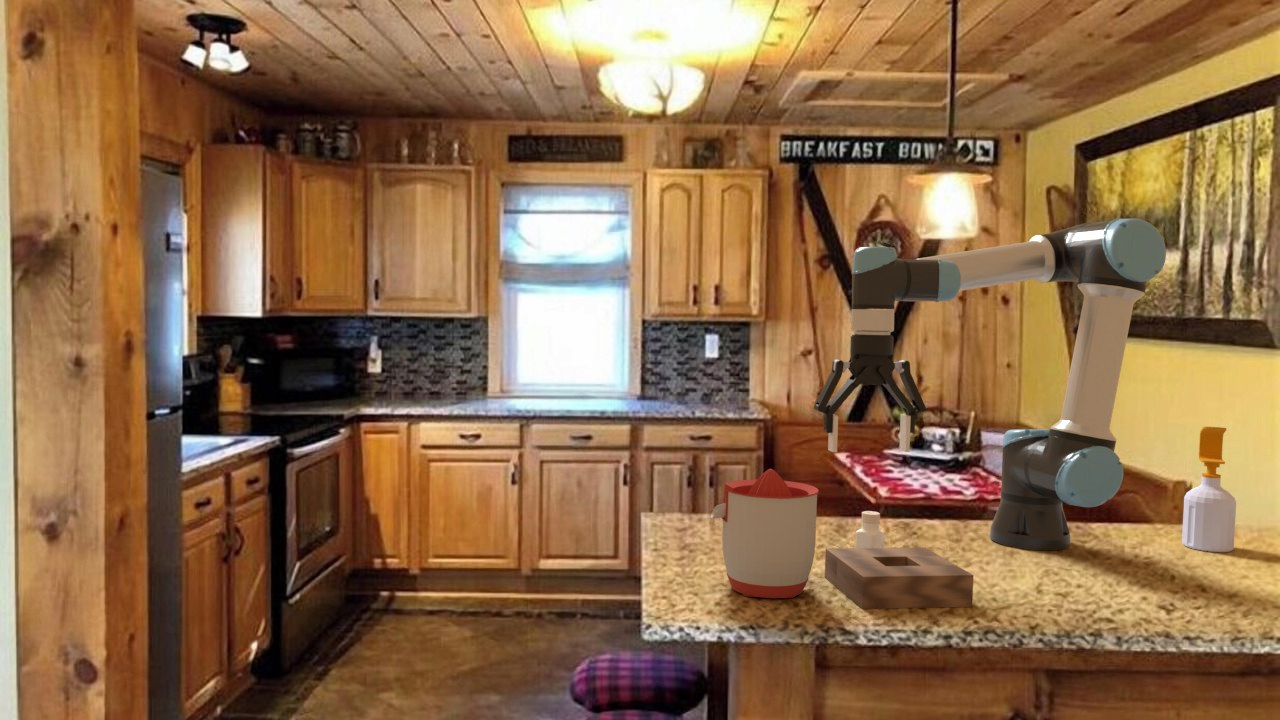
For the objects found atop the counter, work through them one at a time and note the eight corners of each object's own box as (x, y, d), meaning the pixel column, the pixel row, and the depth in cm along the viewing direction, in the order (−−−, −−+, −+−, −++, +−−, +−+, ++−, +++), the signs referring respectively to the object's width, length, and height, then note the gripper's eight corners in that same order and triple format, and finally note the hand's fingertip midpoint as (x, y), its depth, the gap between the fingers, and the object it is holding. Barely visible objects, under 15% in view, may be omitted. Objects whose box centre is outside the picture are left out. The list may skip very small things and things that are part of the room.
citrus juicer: (706, 575, 172) (709, 459, 171) (808, 578, 171) (812, 462, 170) (710, 602, 156) (713, 475, 155) (822, 606, 156) (826, 478, 155)
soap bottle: (1185, 549, 200) (1191, 427, 199) (1179, 540, 208) (1185, 422, 207) (1236, 555, 196) (1243, 430, 195) (1229, 545, 205) (1235, 425, 204)
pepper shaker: (865, 560, 185) (867, 509, 184) (884, 565, 182) (886, 513, 181) (853, 564, 182) (855, 512, 182) (872, 568, 179) (874, 516, 179)
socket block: (924, 575, 175) (925, 547, 175) (972, 606, 157) (973, 575, 157) (824, 577, 173) (825, 548, 172) (862, 608, 155) (863, 576, 155)
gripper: (928, 333, 186) (924, 447, 187) (798, 331, 182) (795, 448, 183) (947, 334, 178) (943, 453, 179) (811, 333, 174) (808, 454, 176)
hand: (868, 451), depth 181 cm, fingers open, 13 cm apart
